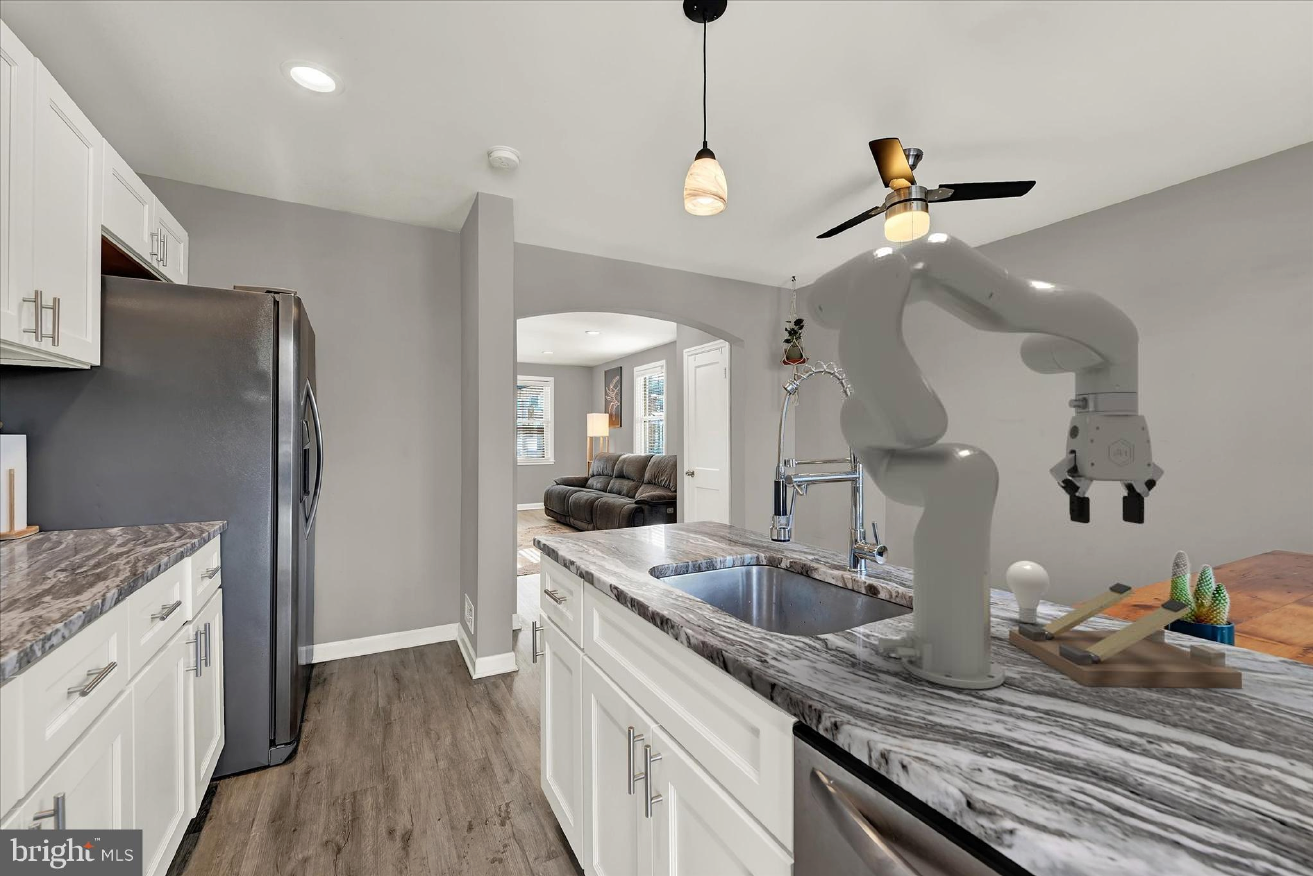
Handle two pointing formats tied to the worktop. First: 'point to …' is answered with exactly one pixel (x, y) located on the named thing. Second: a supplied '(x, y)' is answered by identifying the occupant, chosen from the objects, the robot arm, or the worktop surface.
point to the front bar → (1138, 630)
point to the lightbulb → (1027, 587)
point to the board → (1128, 660)
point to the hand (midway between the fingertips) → (1106, 521)
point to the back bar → (1087, 610)
